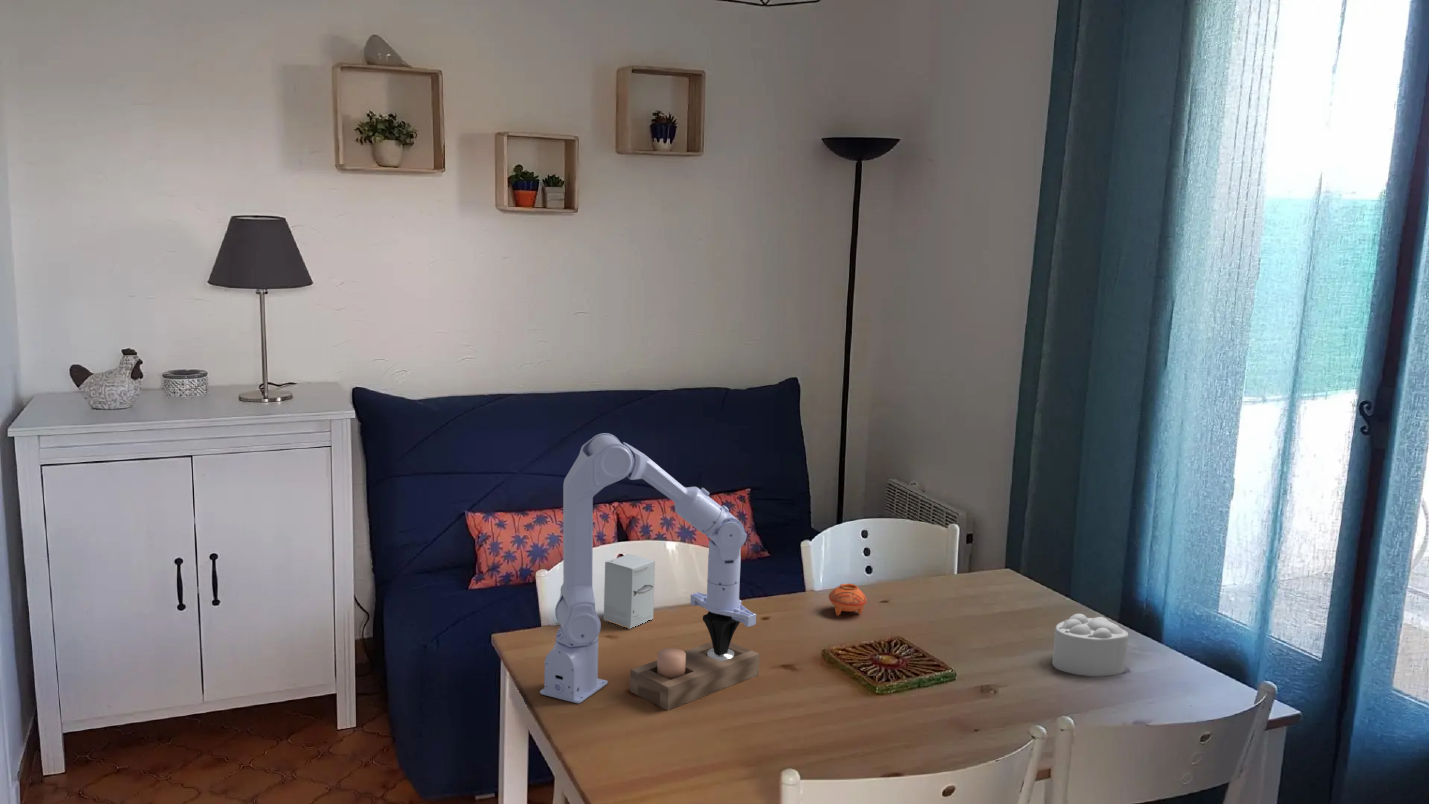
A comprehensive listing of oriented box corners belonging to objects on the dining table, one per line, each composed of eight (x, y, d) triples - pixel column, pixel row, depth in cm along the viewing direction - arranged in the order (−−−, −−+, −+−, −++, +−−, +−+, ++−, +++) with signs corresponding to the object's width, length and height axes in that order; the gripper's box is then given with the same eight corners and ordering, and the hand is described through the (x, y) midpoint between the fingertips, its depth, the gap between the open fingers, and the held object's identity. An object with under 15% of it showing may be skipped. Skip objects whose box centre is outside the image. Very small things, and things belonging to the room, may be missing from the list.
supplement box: (630, 630, 216) (631, 569, 214) (602, 621, 220) (603, 560, 218) (654, 620, 221) (656, 560, 219) (627, 611, 226) (628, 552, 224)
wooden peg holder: (667, 710, 181) (668, 687, 181) (630, 691, 188) (630, 669, 187) (758, 674, 197) (759, 653, 196) (720, 658, 203) (721, 638, 203)
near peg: (670, 683, 184) (670, 661, 184) (651, 674, 188) (651, 653, 187) (690, 676, 188) (691, 654, 187) (672, 667, 191) (672, 646, 190)
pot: (819, 607, 232) (827, 576, 231) (851, 612, 234) (859, 582, 234) (834, 619, 224) (842, 587, 224) (867, 624, 227) (876, 593, 226)
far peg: (720, 681, 193) (720, 660, 193) (701, 672, 197) (701, 652, 196) (739, 674, 197) (739, 653, 196) (720, 665, 200) (720, 645, 199)
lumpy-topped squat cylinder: (1132, 673, 204) (1137, 628, 202) (1071, 679, 200) (1075, 633, 198) (1098, 651, 213) (1102, 609, 212) (1039, 656, 210) (1043, 613, 208)
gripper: (769, 586, 191) (765, 659, 194) (711, 565, 202) (708, 635, 204) (741, 594, 186) (738, 670, 189) (682, 573, 197) (680, 645, 199)
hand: (720, 653), depth 196 cm, fingers closed, pressing on far peg
